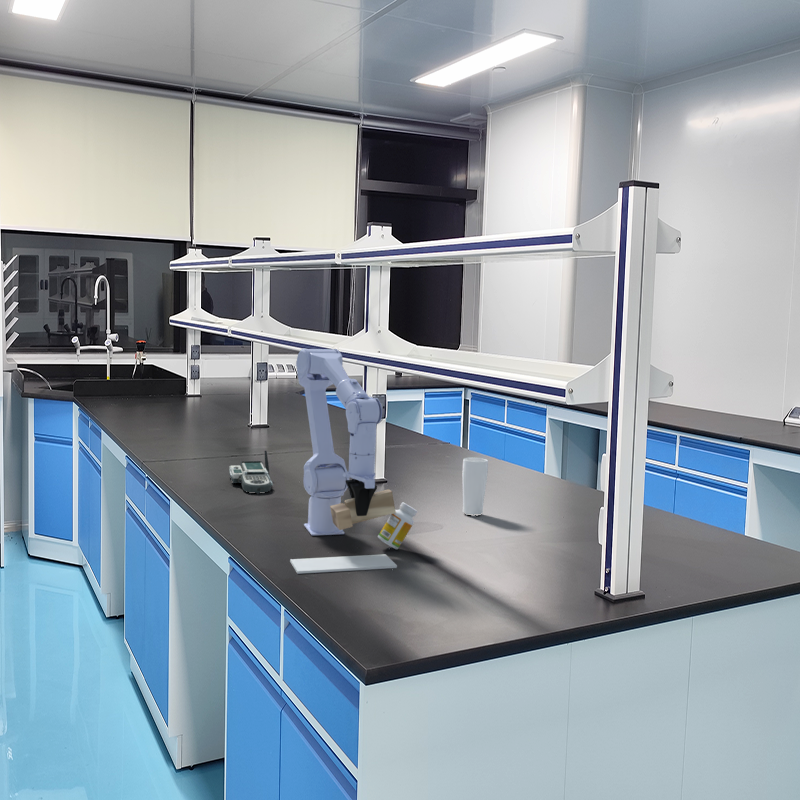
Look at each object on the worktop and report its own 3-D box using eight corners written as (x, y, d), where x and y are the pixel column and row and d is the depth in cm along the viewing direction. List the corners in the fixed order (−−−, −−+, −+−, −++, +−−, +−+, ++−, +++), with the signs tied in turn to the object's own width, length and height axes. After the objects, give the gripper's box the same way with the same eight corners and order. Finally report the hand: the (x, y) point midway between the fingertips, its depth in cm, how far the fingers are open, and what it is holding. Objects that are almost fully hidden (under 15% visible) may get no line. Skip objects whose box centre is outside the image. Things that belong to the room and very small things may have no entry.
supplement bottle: (396, 547, 185) (419, 511, 185) (398, 551, 179) (421, 514, 180) (376, 535, 184) (399, 499, 185) (377, 538, 179) (400, 501, 180)
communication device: (234, 496, 228) (235, 466, 227) (227, 478, 251) (227, 450, 250) (277, 495, 232) (278, 465, 231) (266, 477, 254) (266, 449, 253)
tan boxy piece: (333, 523, 180) (329, 501, 180) (390, 508, 184) (386, 487, 183) (339, 530, 175) (335, 508, 174) (398, 514, 179) (394, 493, 178)
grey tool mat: (290, 561, 170) (290, 559, 170) (385, 556, 177) (385, 554, 177) (297, 573, 162) (297, 571, 162) (396, 567, 169) (396, 565, 169)
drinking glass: (470, 518, 213) (473, 462, 211) (454, 512, 219) (457, 458, 217) (490, 516, 217) (493, 460, 215) (474, 510, 222) (477, 456, 221)
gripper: (336, 447, 183) (334, 506, 184) (353, 459, 169) (350, 522, 171) (366, 447, 185) (364, 505, 187) (385, 459, 172) (382, 521, 173)
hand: (359, 513), depth 179 cm, fingers closed on tan boxy piece, 2 cm apart
